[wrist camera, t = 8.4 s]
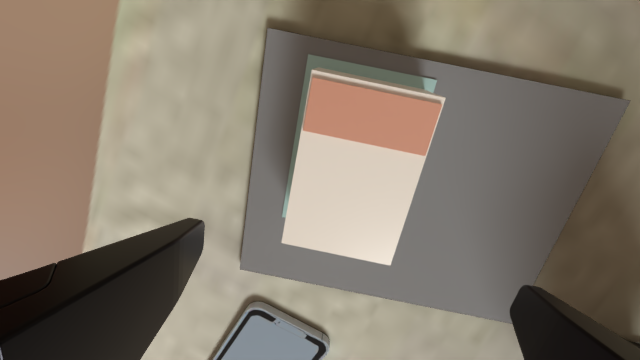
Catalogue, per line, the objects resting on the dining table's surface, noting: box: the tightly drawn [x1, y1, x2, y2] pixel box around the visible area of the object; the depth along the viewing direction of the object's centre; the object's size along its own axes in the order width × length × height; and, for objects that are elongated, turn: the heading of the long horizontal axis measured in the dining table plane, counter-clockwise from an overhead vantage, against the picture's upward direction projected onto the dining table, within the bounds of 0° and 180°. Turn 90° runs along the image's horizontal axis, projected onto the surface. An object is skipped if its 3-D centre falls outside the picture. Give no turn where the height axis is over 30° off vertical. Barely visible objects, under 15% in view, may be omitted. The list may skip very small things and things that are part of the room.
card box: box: [281, 67, 446, 265], centre depth 18 cm, size 9×6×4 cm, turn 169°
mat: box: [240, 28, 630, 324], centre depth 20 cm, size 20×16×1 cm
